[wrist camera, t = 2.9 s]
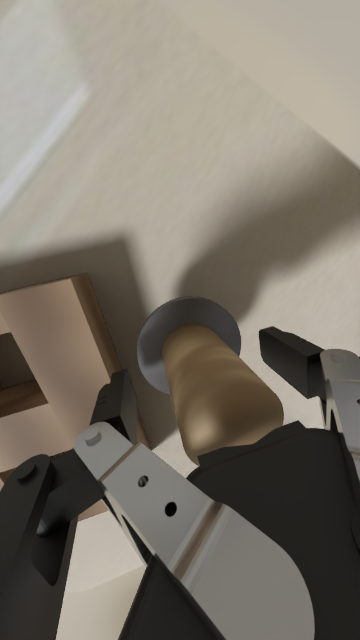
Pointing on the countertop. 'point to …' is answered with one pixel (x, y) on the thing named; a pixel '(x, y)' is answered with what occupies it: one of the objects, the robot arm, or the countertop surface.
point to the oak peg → (206, 376)
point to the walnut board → (54, 371)
